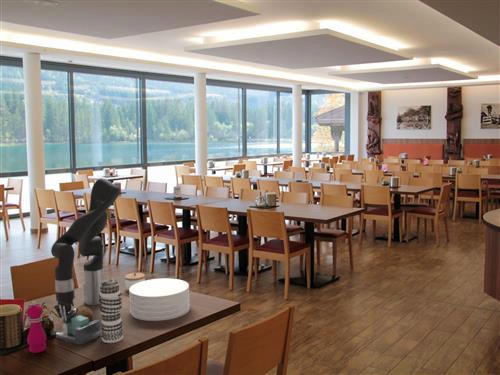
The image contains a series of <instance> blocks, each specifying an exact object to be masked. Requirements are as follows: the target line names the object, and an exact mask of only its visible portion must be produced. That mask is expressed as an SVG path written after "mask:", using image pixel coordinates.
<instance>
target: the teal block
mask: <svg viewBox="0 0 500 375" xmlns="http://www.w3.org/2000/svg"><path fill="white" fill-rule="evenodd" d="M71 321H72V335H75V328H78V327H80V326H83V325H85V324H87V323H90V321H89V318H87V317H83V316H76V317H74V318H71Z"/></svg>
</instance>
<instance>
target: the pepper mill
mask: <svg viewBox="0 0 500 375" xmlns="http://www.w3.org/2000/svg"><path fill="white" fill-rule="evenodd" d="M43 313H44V309H43V307H42V306H41V305H40V304H37V302H36V301H35V300H33V301H32V302H31V305H30V306H29V307H28V308H27V309H26V316H28V322H29V324H30V325H29V326H30V328H29V332H28V334H27V338H26V343H27V344H28V345H29V346H28V349H29V350H28V351H29V352H30V353H32V354H33V353H34V354H35V353H42V352H43V351H45V350H46V349H47V344H46V341H47V339H48V338H47V334H46V332H45V330H44V328H43V327H42V320H43V316H42V315H43Z"/></svg>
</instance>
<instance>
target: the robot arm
mask: <svg viewBox="0 0 500 375" xmlns="http://www.w3.org/2000/svg"><path fill="white" fill-rule="evenodd" d="M120 189H121V188H120V187H118V186H117V185H116V184H114V183H112V182H111V181H109V180H107V179H106V178H101V177H100V178H98V179H96V180H95V182H94V184H93V186H92V188H91V191H90V200H89V201H90V202H89V208H88V210H87V211H88V212H86V213H84V214H81V215H80V216H79V217H77V218H76V219H75V220H74V221H73V222H72V224H71V225H70V227H69V228H68V229H67V231H66V232H65V233H63V234H62V235H61V236H60V237H59V238H57V239H56V240H55V241H54V243H53V244H52V246H51V248H50V253H51V255H52V256H53V257H54V258H56V259H57V260H58V264H57V265H56V266H55V268H54V276H55V277H54V278H55V281H54V282H55V284H54V288H55V301H56V302H57V304H54V306H53V307H54V309H55V311H56V314H57V315H58V317H59V318H60V319H62V323H63V322H64V321H67V320H69V319H71V318H74V317H75V315H76V313H77V311H78V309H77V308H78V307H76V308H75V307H74V306H75V303H74V300H75V295H76V294H75V282H74V276H73V275H74V272H73V267H74V261H75V250H74V247H73V245H75V244H77V243H78V251H79V254H80V255H81V256H82V257H93V258H91V259H89V260H88V261H86V262H85V263H84V264H83V275H84V279H83V280H84V283H83V299H84V300H83V301H84V303H85V304H86V305H89V306H97V305H100V302H99V294H100V284H101V283H102V281H104V280H105V278H104V244H103V239H102V238H101V236H99V235H100V234H101V233H102V231H104V229H105V227H106V226H107V222H108V218H109V217H108V213H107V211H108V210H109V208H110V207H111V206H112V205H113V204H114V203H115V202H116V200H117V199H118V197H119V195H120V193H121V190H120Z"/></svg>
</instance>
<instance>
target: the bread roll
mask: <svg viewBox="0 0 500 375" xmlns="http://www.w3.org/2000/svg"><path fill="white" fill-rule="evenodd" d="M76 308H77V309H78V311H77V313H76V315H75V317H76V316H79V315H82V316H83V317H87V318H89V322H92V320H93V318H94V315H93V314H94V313H93V311H92V310H91V308H89V307H86V306H83V305H82V306H80V305H79V306H78V307H76Z"/></svg>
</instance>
